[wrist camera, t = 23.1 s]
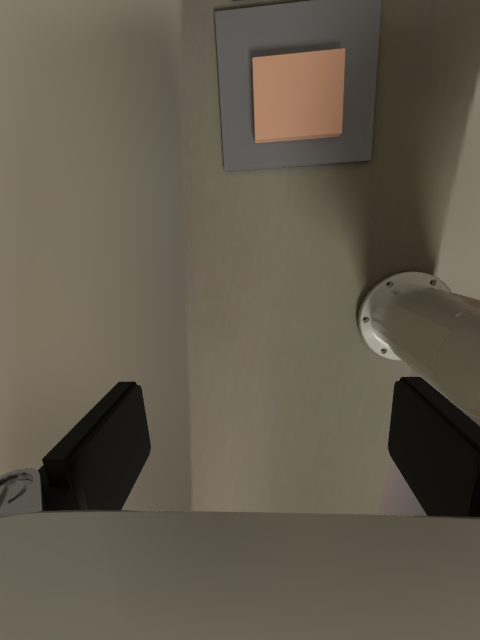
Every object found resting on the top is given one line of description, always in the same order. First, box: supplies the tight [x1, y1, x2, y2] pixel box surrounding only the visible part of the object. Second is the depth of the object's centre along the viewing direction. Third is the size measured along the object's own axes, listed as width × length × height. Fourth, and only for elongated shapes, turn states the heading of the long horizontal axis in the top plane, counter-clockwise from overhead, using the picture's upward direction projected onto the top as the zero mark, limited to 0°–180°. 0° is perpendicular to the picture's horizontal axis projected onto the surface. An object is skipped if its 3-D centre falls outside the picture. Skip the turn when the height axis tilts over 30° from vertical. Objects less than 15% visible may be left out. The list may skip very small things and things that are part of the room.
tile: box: [252, 48, 345, 143], centre depth 32 cm, size 10×1×8 cm
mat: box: [215, 0, 382, 171], centre depth 33 cm, size 18×16×1 cm
